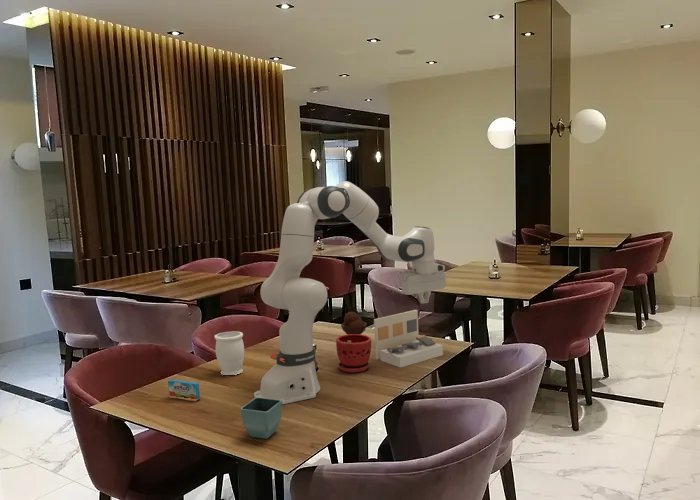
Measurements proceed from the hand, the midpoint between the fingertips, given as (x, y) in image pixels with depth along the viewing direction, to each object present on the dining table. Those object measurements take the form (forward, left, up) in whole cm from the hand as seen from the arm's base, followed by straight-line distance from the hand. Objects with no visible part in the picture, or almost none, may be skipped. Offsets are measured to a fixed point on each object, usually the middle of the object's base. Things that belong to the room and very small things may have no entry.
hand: (424, 302), depth 218 cm
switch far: (+2, +2, -16) cm, 16 cm away
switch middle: (-6, +2, -16) cm, 17 cm away
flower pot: (-82, -21, -22) cm, 87 cm away
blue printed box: (-90, +22, -22) cm, 95 cm away
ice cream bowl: (-12, +32, -22) cm, 41 cm away
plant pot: (-30, +7, -22) cm, 37 cm away
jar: (-67, +36, -22) cm, 79 cm away
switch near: (-13, +2, -16) cm, 21 cm away
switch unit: (-6, +4, -21) cm, 22 cm away
